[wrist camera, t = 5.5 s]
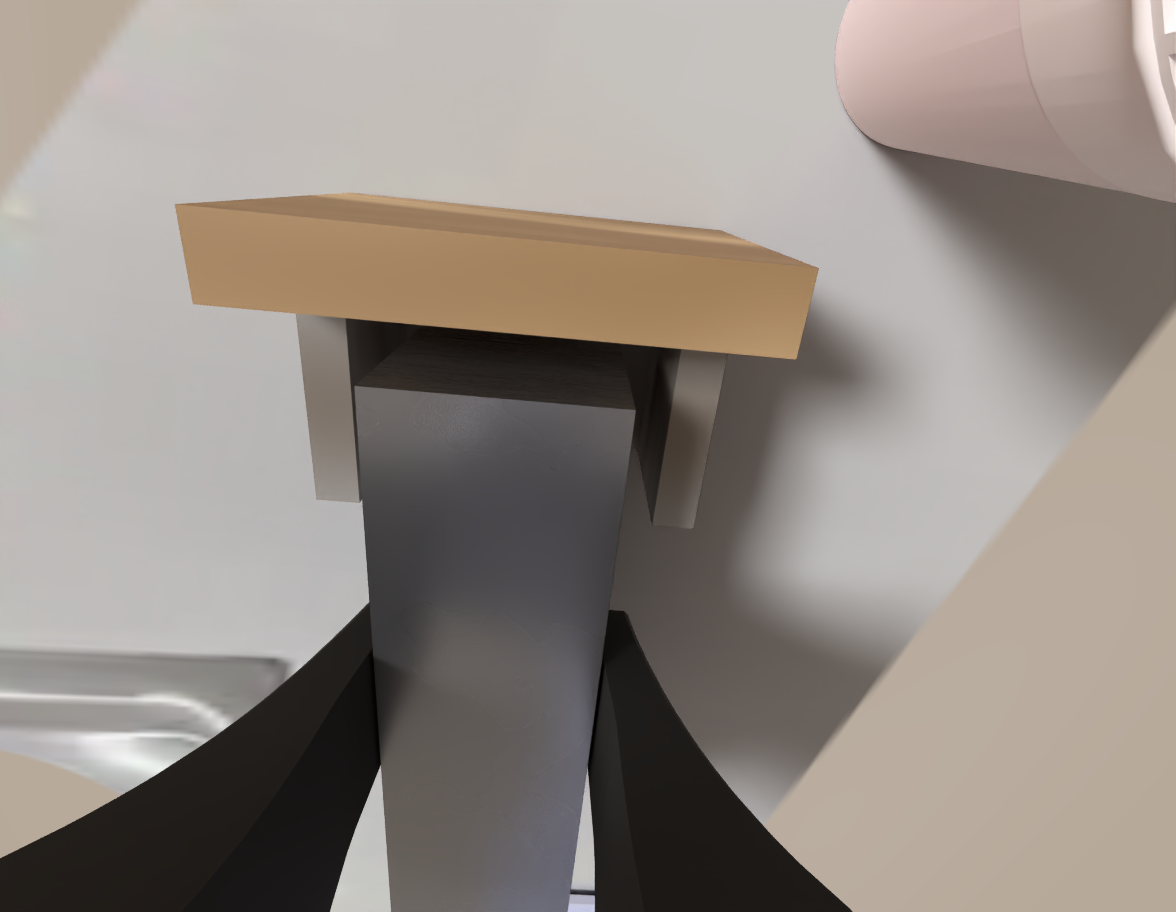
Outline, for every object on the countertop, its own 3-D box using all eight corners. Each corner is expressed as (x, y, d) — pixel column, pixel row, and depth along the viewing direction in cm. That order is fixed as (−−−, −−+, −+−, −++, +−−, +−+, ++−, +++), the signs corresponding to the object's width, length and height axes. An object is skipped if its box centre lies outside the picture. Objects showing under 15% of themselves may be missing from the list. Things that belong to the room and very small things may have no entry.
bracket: (682, 446, 15) (736, 595, 10) (365, 419, 15) (239, 558, 9) (720, 230, 13) (818, 268, 8) (350, 192, 13) (174, 204, 7)
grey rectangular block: (437, 312, 13) (354, 385, 8) (616, 329, 13) (636, 410, 8) (441, 723, 17) (391, 914, 13) (570, 731, 18) (566, 922, 13)
